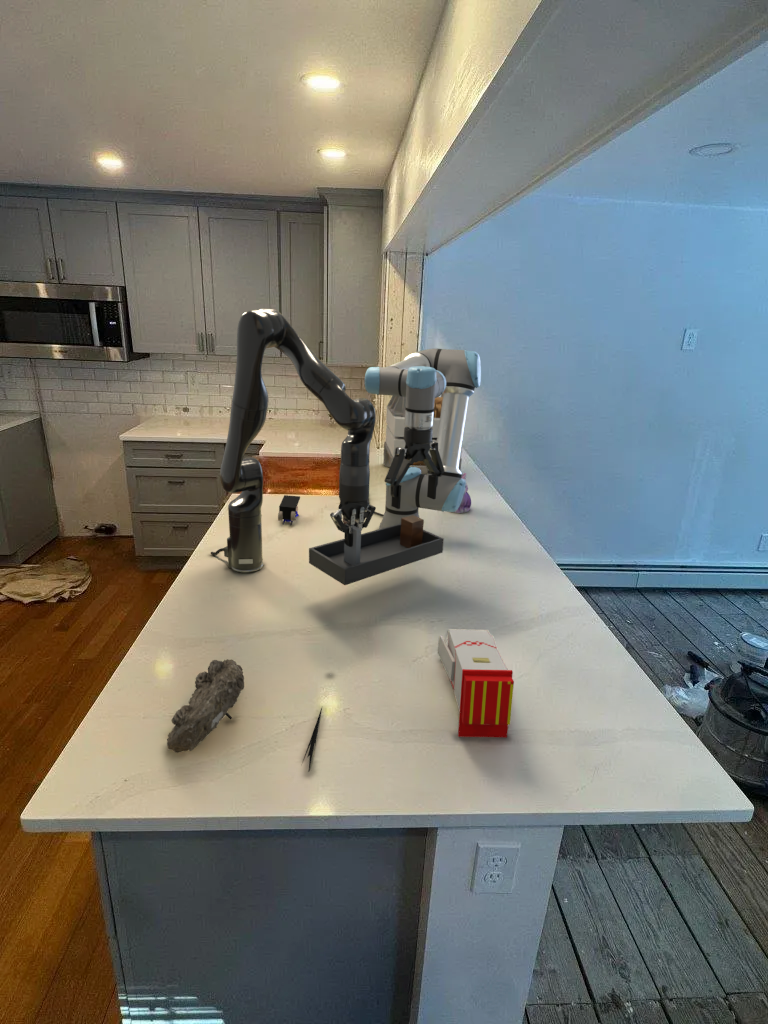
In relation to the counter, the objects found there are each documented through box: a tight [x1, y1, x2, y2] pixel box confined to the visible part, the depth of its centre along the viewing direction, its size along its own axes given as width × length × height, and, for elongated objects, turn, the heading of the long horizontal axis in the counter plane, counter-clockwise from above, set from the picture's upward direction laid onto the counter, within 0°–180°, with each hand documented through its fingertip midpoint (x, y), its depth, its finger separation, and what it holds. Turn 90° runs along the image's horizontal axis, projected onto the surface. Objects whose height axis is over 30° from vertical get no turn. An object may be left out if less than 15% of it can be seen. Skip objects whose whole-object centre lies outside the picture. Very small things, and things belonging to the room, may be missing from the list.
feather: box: [301, 673, 332, 771], centre depth 108 cm, size 2×28×2 cm
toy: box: [437, 628, 515, 738], centre depth 117 cm, size 12×13×30 cm
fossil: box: [166, 658, 245, 754], centre depth 106 cm, size 22×10×15 cm
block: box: [400, 515, 425, 548], centre depth 160 cm, size 4×4×8 cm
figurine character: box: [277, 494, 301, 526], centre depth 207 cm, size 7×8×15 cm
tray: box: [308, 523, 445, 586], centre depth 152 cm, size 16×34×11 cm, turn 131°
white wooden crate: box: [383, 393, 464, 472], centre depth 268 cm, size 34×33×41 cm
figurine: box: [454, 472, 472, 514], centre depth 224 cm, size 9×10×15 cm
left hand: (352, 544), depth 146 cm, fingers closed on tray, 1 cm apart
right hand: (414, 502), depth 157 cm, fingers open, 13 cm apart
